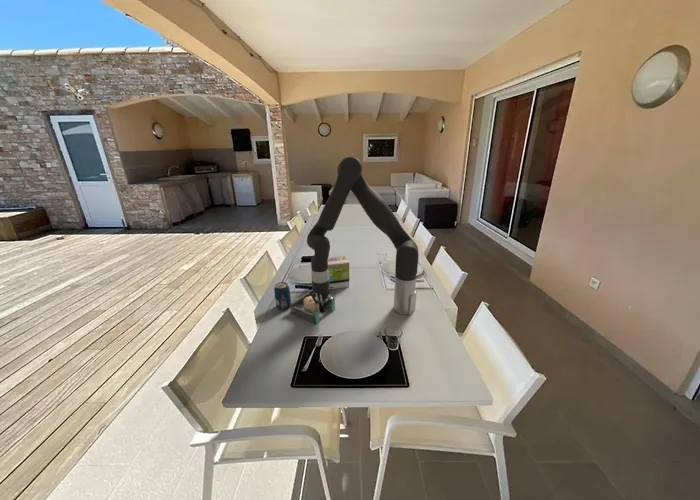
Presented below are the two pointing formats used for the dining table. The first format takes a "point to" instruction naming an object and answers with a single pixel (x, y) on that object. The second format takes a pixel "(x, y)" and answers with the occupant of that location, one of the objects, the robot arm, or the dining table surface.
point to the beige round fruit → (310, 305)
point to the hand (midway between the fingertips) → (322, 312)
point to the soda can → (282, 296)
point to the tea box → (338, 272)
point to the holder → (306, 315)
